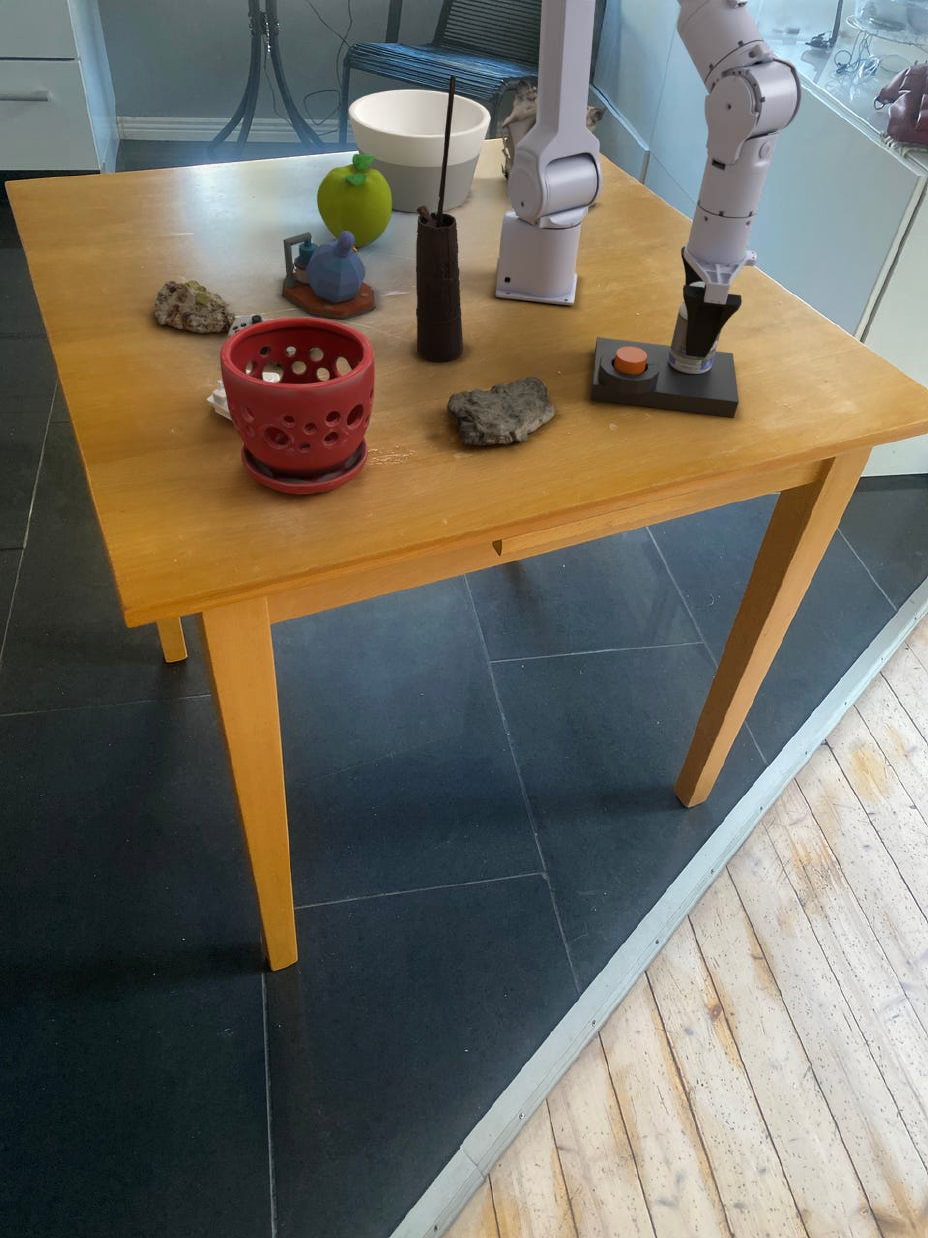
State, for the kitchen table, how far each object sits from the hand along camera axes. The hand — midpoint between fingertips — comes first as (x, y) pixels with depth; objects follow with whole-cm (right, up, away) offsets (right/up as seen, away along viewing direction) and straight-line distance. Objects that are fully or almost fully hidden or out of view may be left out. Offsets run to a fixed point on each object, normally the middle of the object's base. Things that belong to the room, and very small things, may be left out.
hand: (694, 336), depth 100 cm
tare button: (-7, -4, -1) cm, 8 cm away
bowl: (-31, +31, +36) cm, 57 cm away
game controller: (-45, -1, +3) cm, 46 cm away
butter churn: (-28, 0, +6) cm, 29 cm away
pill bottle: (0, -2, +2) cm, 3 cm away
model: (-40, +9, +13) cm, 43 cm away
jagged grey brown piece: (-12, +32, +38) cm, 51 cm away
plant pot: (-39, -15, -10) cm, 43 cm away
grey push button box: (-3, -4, +3) cm, 6 cm away
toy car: (-46, -8, -4) cm, 47 cm away
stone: (-21, -10, -4) cm, 23 cm away
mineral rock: (-55, +4, +8) cm, 55 cm away
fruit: (-38, +19, +24) cm, 49 cm away
